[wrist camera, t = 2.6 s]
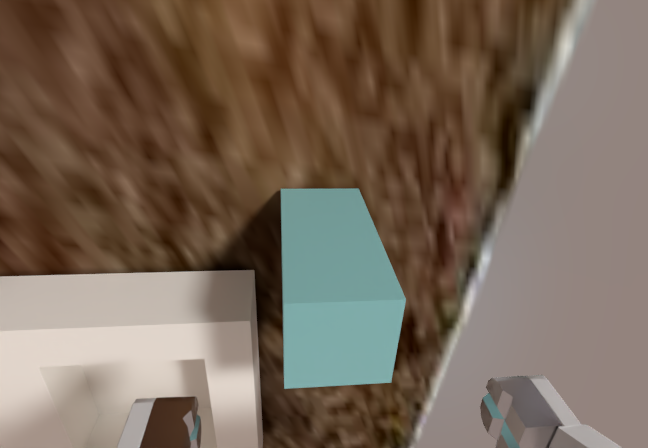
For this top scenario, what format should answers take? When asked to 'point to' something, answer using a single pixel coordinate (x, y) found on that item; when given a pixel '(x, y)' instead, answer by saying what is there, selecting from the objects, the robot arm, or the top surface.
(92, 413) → the socket block
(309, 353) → the plug
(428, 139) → the top surface
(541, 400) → the robot arm
